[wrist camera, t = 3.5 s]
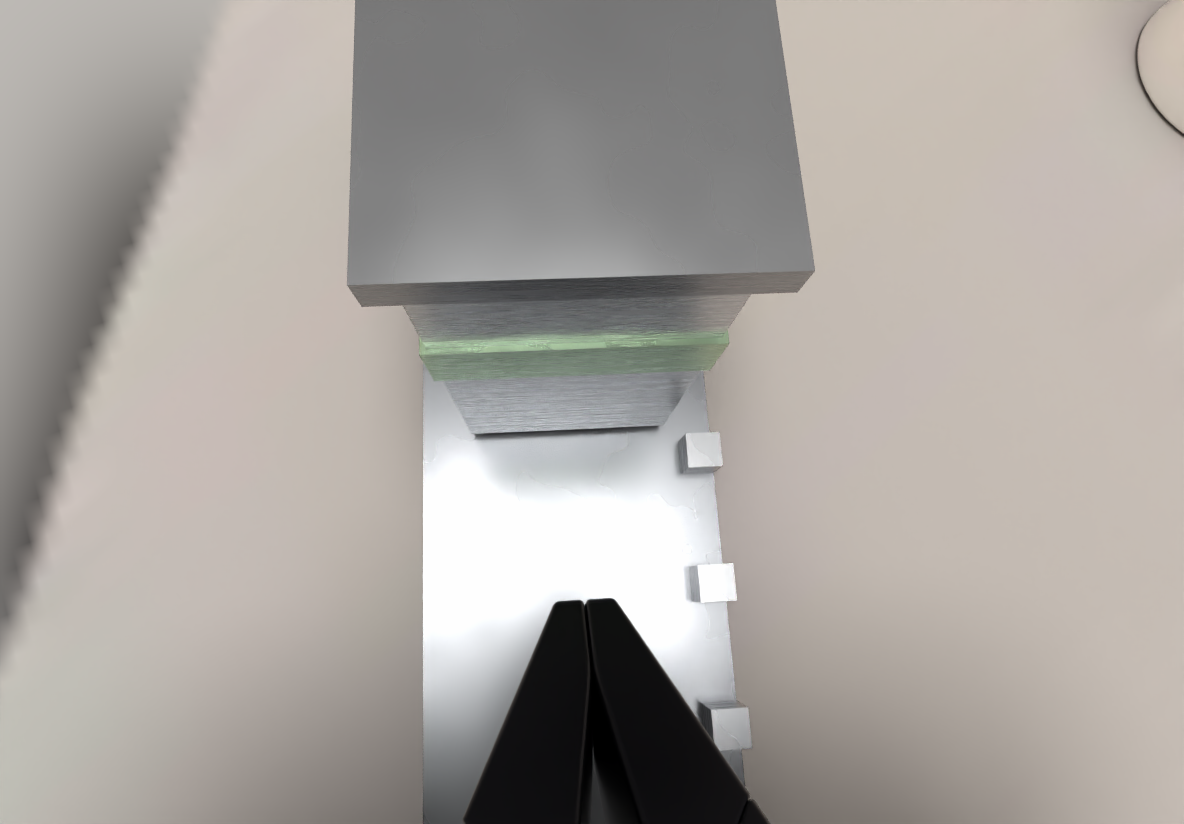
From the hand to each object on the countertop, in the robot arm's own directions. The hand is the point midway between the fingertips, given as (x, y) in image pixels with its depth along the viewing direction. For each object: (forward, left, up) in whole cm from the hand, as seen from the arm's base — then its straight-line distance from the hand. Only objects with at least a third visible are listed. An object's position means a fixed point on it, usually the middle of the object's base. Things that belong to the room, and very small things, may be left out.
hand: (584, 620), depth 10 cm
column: (+6, -2, -6) cm, 9 cm away
